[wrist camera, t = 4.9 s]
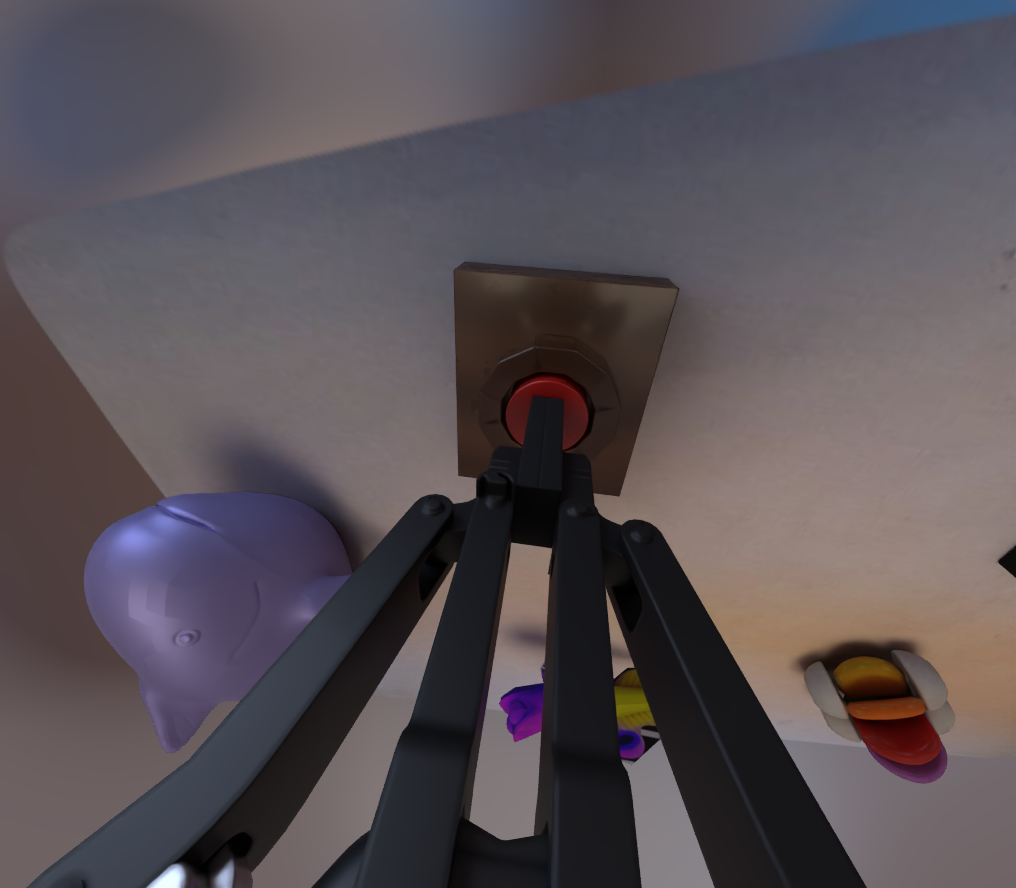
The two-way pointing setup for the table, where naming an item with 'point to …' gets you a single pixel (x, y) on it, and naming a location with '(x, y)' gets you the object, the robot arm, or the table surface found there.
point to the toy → (630, 708)
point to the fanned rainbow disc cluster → (888, 711)
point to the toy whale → (209, 596)
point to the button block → (557, 355)
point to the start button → (551, 388)
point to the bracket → (1010, 562)
